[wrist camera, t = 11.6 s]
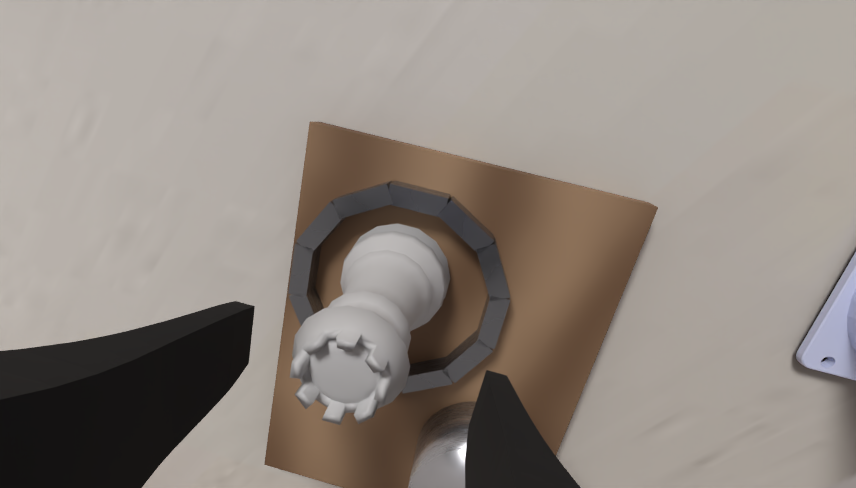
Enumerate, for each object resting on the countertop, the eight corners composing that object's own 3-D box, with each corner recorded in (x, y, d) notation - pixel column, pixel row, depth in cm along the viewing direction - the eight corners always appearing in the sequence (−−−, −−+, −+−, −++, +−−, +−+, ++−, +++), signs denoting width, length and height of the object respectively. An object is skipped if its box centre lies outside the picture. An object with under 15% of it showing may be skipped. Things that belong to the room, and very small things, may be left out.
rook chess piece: (468, 248, 17) (458, 350, 9) (425, 333, 18) (386, 482, 11) (371, 202, 17) (282, 268, 9) (335, 291, 18) (232, 411, 11)
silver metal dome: (557, 421, 19) (571, 474, 16) (520, 515, 21) (526, 579, 18) (432, 387, 19) (423, 433, 16) (405, 482, 21) (393, 539, 18)
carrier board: (648, 202, 17) (658, 207, 16) (519, 521, 22) (521, 539, 21) (319, 121, 17) (309, 121, 16) (273, 450, 23) (264, 464, 22)
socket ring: (532, 214, 16) (536, 220, 15) (474, 399, 19) (474, 414, 18) (315, 160, 17) (305, 162, 16) (288, 348, 20) (279, 359, 19)
